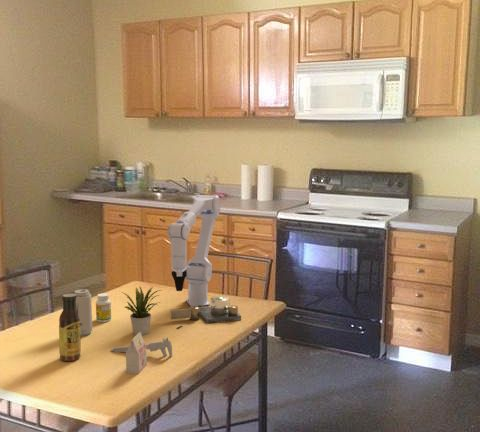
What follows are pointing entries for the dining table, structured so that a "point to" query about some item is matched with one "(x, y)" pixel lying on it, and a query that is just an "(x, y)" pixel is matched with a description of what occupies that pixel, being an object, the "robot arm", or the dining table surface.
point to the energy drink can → (84, 311)
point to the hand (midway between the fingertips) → (179, 290)
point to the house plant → (141, 312)
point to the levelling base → (216, 317)
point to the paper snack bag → (136, 355)
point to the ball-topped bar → (186, 313)
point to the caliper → (151, 347)
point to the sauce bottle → (69, 330)
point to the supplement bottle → (103, 308)
